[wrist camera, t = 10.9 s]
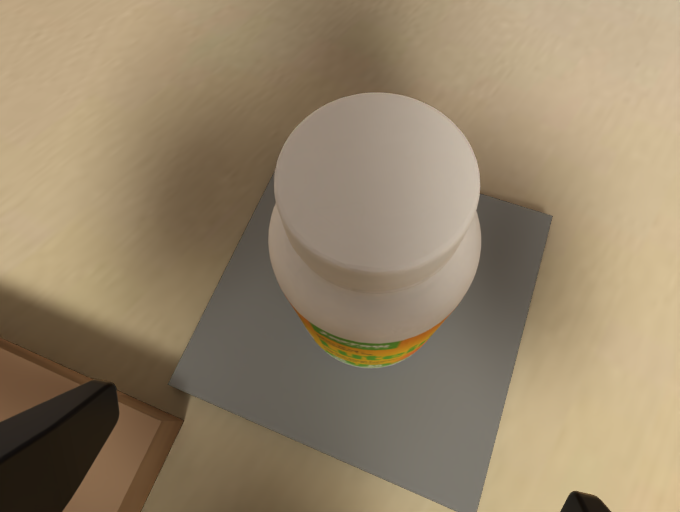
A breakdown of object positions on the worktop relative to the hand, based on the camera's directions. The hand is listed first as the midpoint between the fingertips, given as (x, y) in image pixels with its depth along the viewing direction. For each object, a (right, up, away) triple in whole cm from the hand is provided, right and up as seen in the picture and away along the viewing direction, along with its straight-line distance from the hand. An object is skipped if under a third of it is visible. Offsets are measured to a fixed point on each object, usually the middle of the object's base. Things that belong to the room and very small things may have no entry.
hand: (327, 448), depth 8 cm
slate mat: (+1, +2, +10) cm, 10 cm away
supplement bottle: (+1, +2, +9) cm, 9 cm away
